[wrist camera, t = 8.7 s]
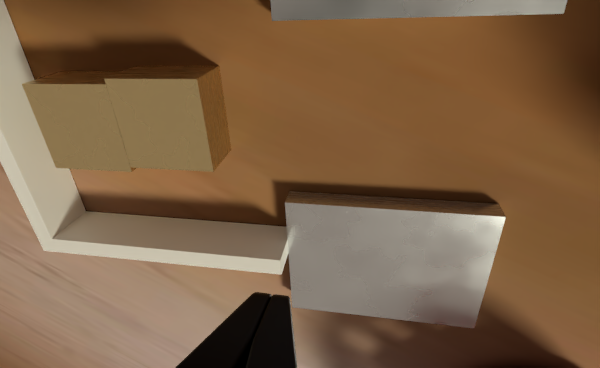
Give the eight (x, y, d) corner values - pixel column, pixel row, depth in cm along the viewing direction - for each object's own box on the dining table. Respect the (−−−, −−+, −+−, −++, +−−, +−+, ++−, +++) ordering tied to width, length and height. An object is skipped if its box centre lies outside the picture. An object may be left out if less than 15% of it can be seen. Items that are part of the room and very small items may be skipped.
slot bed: (632, -297, 11) (659, -325, 10) (469, 312, 23) (474, 328, 22) (262, -240, 13) (252, -259, 12) (295, 293, 25) (292, 307, 24)
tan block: (220, 64, 18) (197, 79, 16) (232, 148, 21) (213, 171, 18) (138, 65, 19) (104, 78, 17) (158, 145, 21) (130, 167, 19)
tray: (272, -79, 15) (250, -89, 12) (292, 240, 23) (281, 274, 20) (-37, -57, 17) (-108, -61, 15) (77, 222, 25) (43, 250, 23)
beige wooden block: (139, 70, 19) (105, 84, 17) (158, 149, 21) (131, 171, 19) (63, 70, 20) (21, 83, 18) (90, 146, 22) (56, 167, 20)
